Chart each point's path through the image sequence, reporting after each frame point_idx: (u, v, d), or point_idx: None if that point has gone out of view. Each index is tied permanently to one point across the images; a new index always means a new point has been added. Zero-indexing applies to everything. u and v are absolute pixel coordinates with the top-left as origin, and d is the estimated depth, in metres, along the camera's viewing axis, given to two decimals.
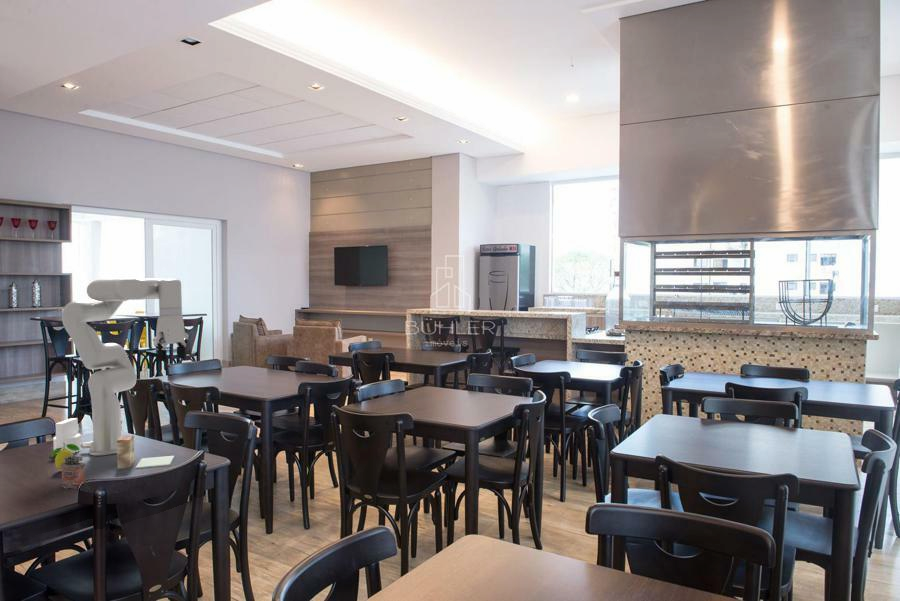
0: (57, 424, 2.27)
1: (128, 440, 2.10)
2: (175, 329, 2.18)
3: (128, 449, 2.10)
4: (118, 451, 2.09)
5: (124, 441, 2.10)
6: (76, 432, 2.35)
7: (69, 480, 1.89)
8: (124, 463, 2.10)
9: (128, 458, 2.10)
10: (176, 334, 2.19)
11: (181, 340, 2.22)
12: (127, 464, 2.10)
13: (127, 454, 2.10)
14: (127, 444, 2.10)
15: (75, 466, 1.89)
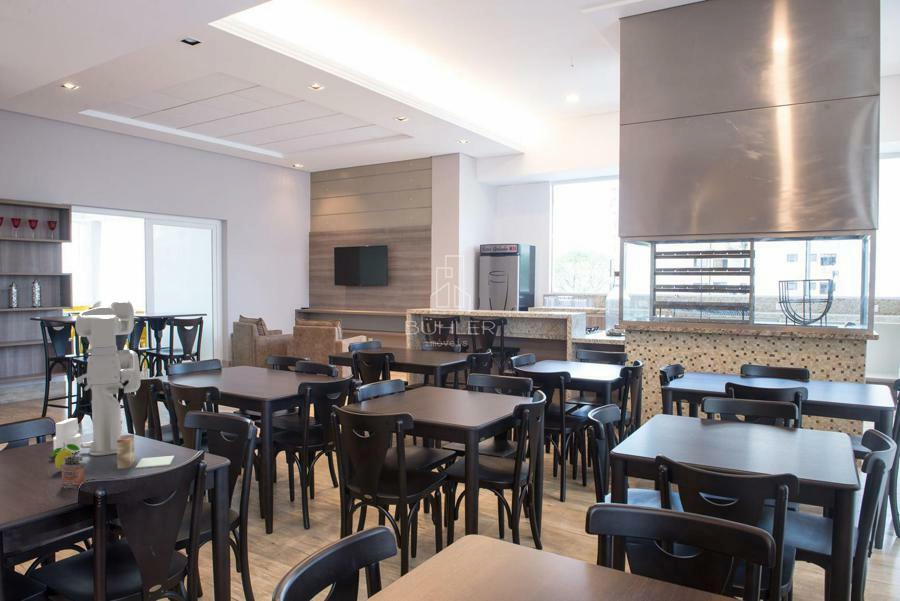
0: (57, 424, 2.27)
1: (128, 440, 2.10)
2: None
3: (128, 449, 2.10)
4: (118, 451, 2.09)
5: (124, 441, 2.10)
6: (76, 432, 2.35)
7: (69, 480, 1.89)
8: (124, 463, 2.10)
9: (128, 458, 2.10)
10: None
11: None
12: (127, 464, 2.10)
13: (127, 454, 2.10)
14: (127, 444, 2.10)
15: (75, 466, 1.89)
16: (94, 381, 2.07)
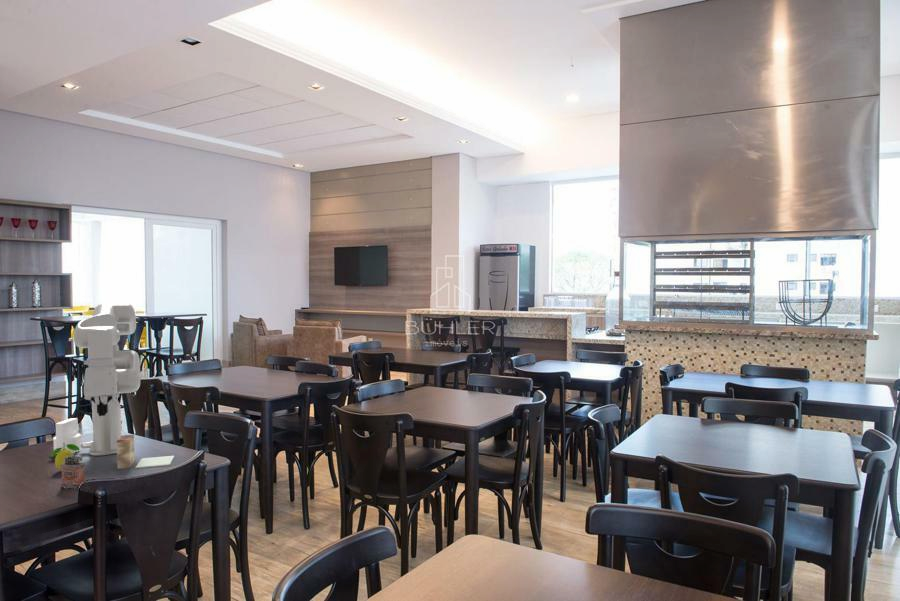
0: (57, 424, 2.27)
1: (128, 440, 2.10)
2: None
3: (128, 449, 2.10)
4: (118, 451, 2.09)
5: (124, 441, 2.10)
6: (76, 432, 2.35)
7: (69, 480, 1.89)
8: (124, 463, 2.10)
9: (128, 458, 2.10)
10: None
11: None
12: (127, 464, 2.10)
13: (127, 454, 2.10)
14: (127, 444, 2.10)
15: (75, 466, 1.89)
16: (91, 393, 2.07)
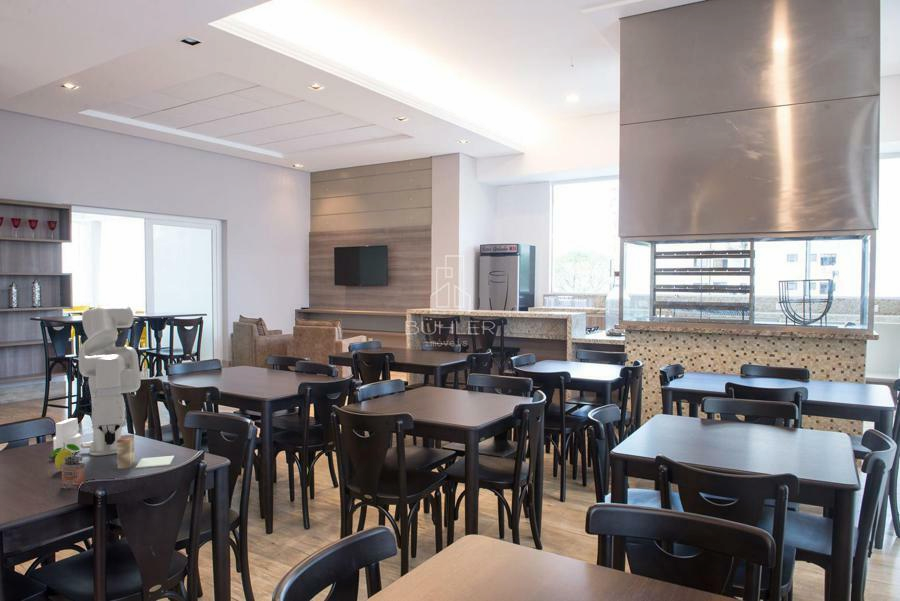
0: (57, 424, 2.27)
1: (128, 440, 2.10)
2: None
3: (128, 449, 2.10)
4: (118, 451, 2.09)
5: (124, 441, 2.10)
6: (76, 432, 2.35)
7: (69, 480, 1.89)
8: (124, 463, 2.10)
9: (128, 458, 2.10)
10: None
11: None
12: (127, 464, 2.10)
13: (127, 454, 2.10)
14: (127, 444, 2.10)
15: (75, 466, 1.89)
16: (99, 422, 2.08)
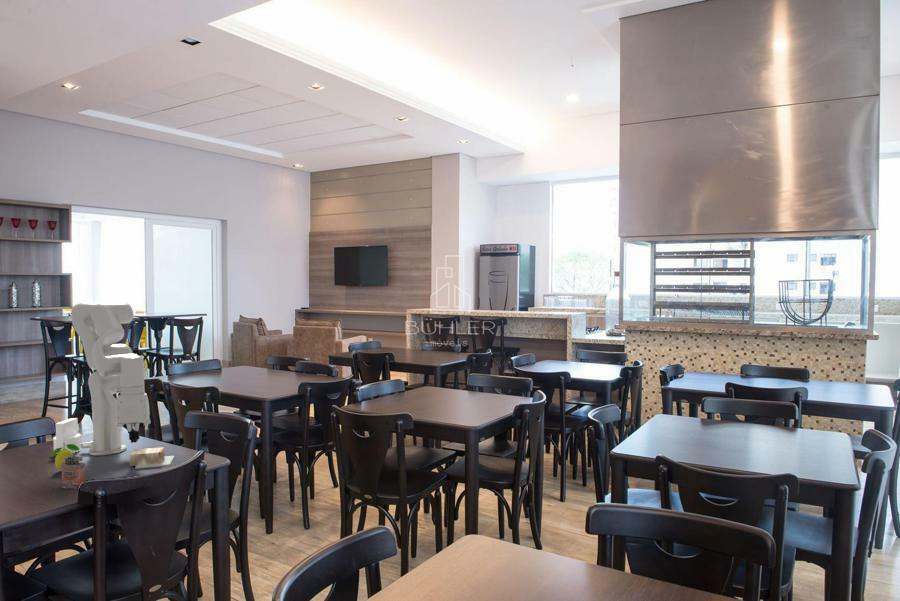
0: (57, 424, 2.27)
1: (160, 462, 2.13)
2: None
3: (150, 463, 2.12)
4: (148, 454, 2.12)
5: (159, 459, 2.13)
6: (76, 432, 2.35)
7: (69, 480, 1.89)
8: (134, 460, 2.11)
9: (140, 463, 2.11)
10: None
11: None
12: (133, 463, 2.11)
13: (144, 462, 2.12)
14: (155, 461, 2.13)
15: (75, 466, 1.89)
16: (123, 420, 2.10)
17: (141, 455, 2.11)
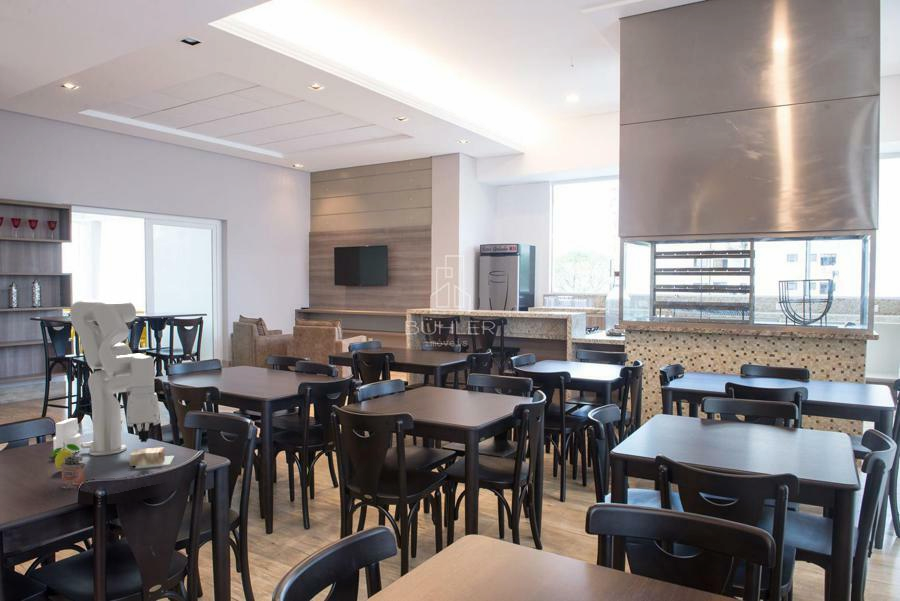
0: (57, 424, 2.27)
1: (160, 462, 2.13)
2: None
3: (150, 463, 2.12)
4: (148, 454, 2.12)
5: (159, 459, 2.13)
6: (76, 432, 2.35)
7: (69, 480, 1.89)
8: (134, 460, 2.11)
9: (140, 463, 2.11)
10: None
11: None
12: (133, 463, 2.11)
13: (144, 462, 2.12)
14: (155, 461, 2.13)
15: (75, 466, 1.89)
16: (133, 420, 2.11)
17: (141, 455, 2.11)
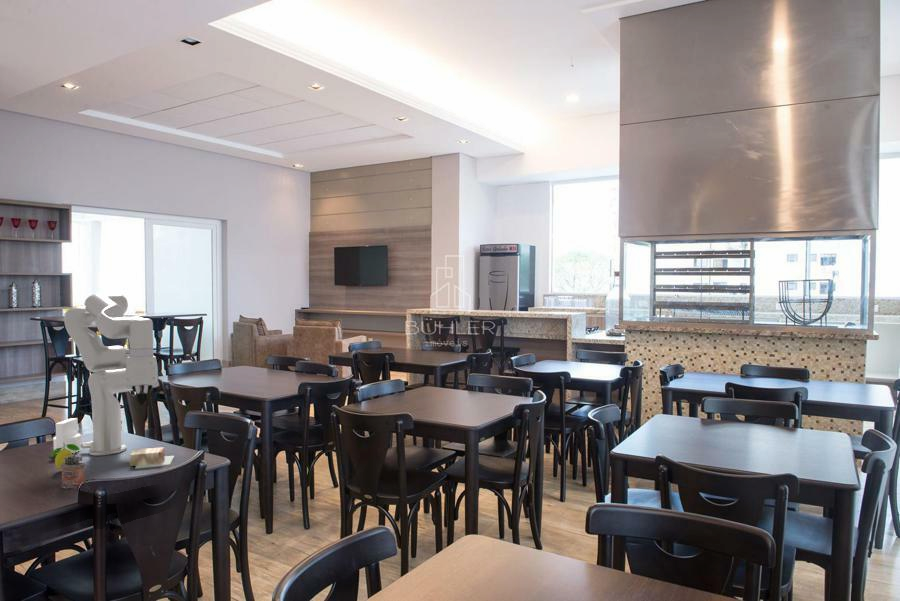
0: (57, 424, 2.27)
1: (160, 462, 2.13)
2: None
3: (150, 463, 2.12)
4: (148, 454, 2.12)
5: (159, 459, 2.13)
6: (76, 432, 2.35)
7: (69, 481, 1.89)
8: (134, 460, 2.11)
9: (140, 463, 2.11)
10: None
11: None
12: (133, 463, 2.11)
13: (144, 462, 2.12)
14: (155, 461, 2.13)
15: (75, 466, 1.89)
16: (132, 382, 2.11)
17: (141, 455, 2.11)
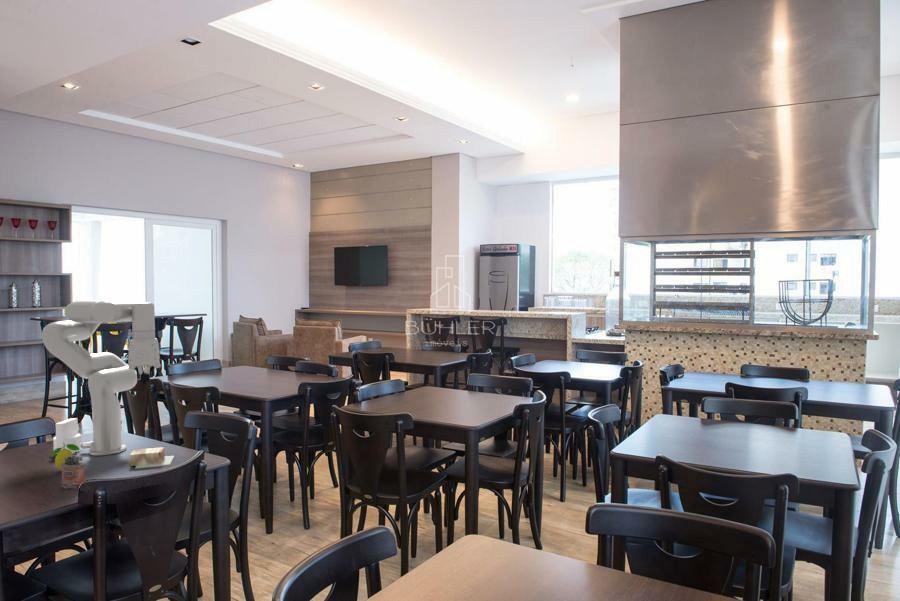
0: (57, 424, 2.27)
1: (160, 462, 2.13)
2: None
3: (150, 463, 2.12)
4: (148, 454, 2.12)
5: (159, 459, 2.13)
6: (76, 432, 2.35)
7: (69, 481, 1.89)
8: (134, 460, 2.11)
9: (140, 463, 2.11)
10: None
11: None
12: (133, 463, 2.11)
13: (144, 462, 2.12)
14: (155, 461, 2.13)
15: (75, 466, 1.89)
16: (135, 363, 2.20)
17: (141, 455, 2.11)
